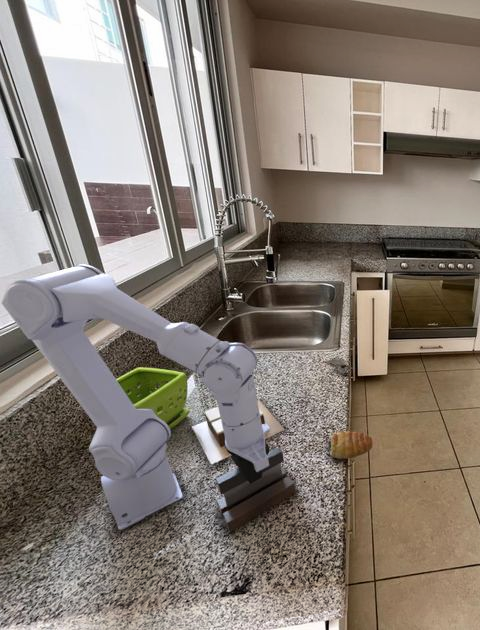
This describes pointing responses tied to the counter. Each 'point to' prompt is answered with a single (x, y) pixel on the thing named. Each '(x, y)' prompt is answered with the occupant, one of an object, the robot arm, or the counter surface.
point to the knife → (239, 487)
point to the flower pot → (158, 392)
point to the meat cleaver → (339, 365)
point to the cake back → (212, 416)
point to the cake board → (220, 453)
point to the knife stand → (256, 503)
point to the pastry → (349, 444)
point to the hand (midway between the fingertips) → (253, 476)
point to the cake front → (219, 430)
